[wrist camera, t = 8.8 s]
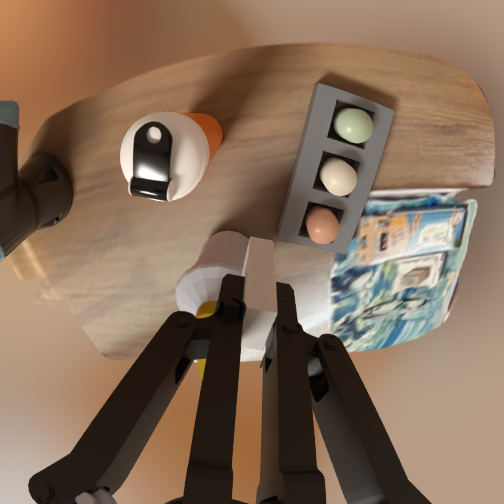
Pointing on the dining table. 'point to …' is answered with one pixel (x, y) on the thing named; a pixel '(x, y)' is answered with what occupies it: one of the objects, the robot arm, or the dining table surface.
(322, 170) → the cream egg
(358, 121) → the pale green rounded knob
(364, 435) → the robot arm
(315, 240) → the brown egg
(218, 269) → the soap bottle
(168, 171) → the shaker bottle
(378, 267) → the dining table surface
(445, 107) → the dining table surface
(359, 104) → the panel
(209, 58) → the dining table surface
